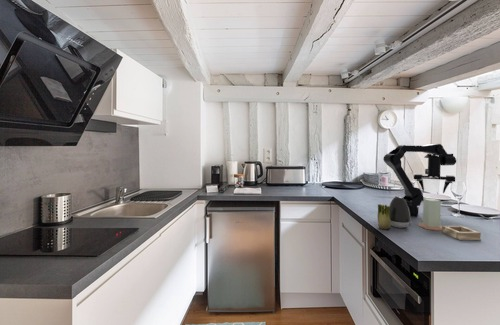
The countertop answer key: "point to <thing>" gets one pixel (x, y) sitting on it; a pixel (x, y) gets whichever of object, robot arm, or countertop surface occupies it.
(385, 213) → the green drip glaze vase
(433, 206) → the square plug
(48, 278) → the countertop surface
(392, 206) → the grey smart speaker
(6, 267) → the countertop surface
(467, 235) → the square socket
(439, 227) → the pad
